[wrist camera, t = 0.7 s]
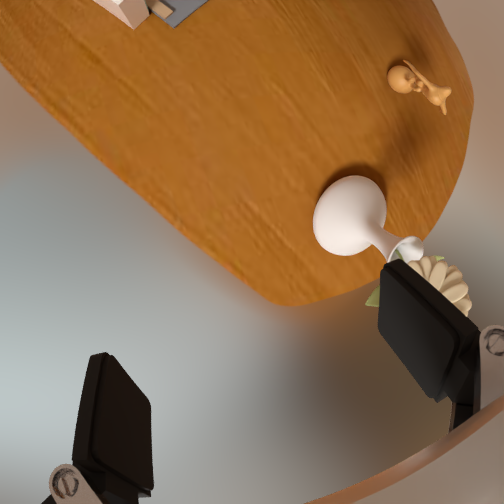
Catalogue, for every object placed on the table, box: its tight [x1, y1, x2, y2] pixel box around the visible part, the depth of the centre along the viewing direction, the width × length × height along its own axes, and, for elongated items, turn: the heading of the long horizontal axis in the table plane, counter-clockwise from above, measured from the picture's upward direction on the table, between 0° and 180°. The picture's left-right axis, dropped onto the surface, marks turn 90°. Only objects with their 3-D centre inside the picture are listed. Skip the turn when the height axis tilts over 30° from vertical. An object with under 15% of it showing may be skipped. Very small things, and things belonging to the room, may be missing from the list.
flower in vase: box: [313, 175, 472, 317], centre depth 29 cm, size 13×11×25 cm
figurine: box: [387, 60, 451, 115], centre depth 27 cm, size 8×6×12 cm
